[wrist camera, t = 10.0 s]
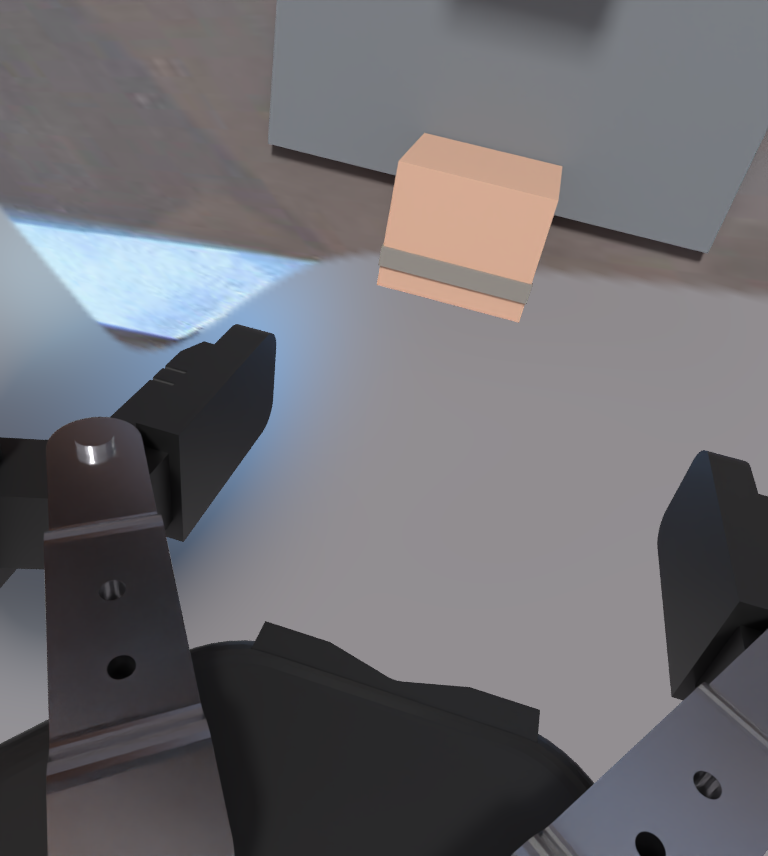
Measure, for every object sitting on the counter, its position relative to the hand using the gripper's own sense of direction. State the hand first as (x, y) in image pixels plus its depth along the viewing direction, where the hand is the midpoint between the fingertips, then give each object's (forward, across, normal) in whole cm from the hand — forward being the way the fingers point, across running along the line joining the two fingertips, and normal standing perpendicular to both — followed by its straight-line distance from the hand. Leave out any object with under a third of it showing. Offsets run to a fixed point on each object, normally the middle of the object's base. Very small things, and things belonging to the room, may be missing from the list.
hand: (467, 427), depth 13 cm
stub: (+21, +2, +2) cm, 21 cm away
